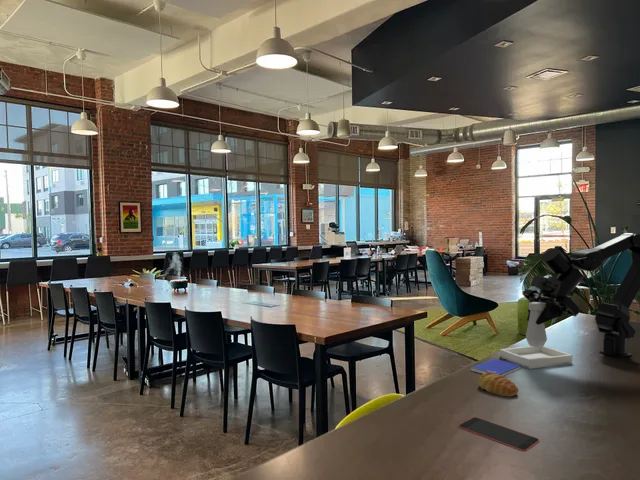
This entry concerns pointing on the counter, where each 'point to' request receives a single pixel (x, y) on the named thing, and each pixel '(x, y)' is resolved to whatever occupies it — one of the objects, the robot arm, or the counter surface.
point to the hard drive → (496, 367)
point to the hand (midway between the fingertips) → (532, 322)
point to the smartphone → (499, 434)
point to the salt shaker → (536, 326)
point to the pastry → (497, 384)
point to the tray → (536, 356)
